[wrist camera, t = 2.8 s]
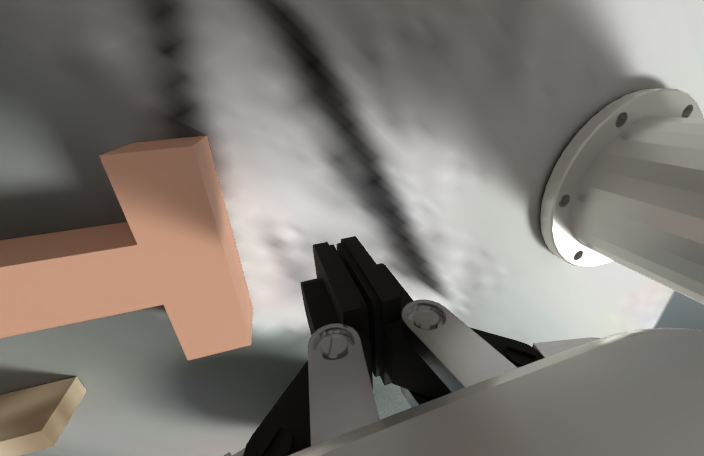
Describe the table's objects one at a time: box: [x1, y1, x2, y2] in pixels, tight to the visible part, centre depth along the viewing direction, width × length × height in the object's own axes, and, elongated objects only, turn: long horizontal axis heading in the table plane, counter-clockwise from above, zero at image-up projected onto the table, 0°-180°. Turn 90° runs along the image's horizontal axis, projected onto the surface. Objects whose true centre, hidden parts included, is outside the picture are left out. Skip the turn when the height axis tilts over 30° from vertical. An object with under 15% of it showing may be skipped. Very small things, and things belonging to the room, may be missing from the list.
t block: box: [0, 136, 253, 360], centre depth 13 cm, size 10×10×3 cm
